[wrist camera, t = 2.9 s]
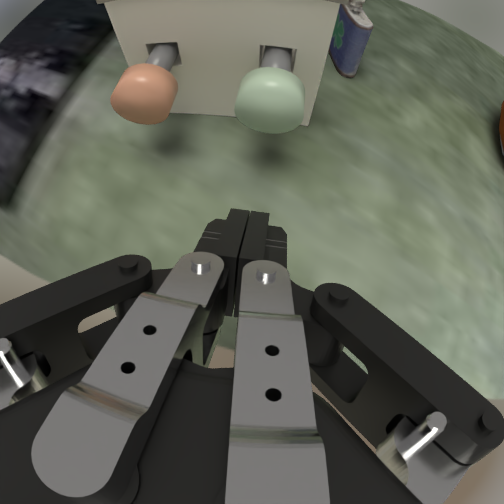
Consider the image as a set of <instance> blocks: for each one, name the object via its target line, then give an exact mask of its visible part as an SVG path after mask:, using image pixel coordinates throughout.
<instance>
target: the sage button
mask: <svg viewBox="0 0 504 504" xmlns="http://www.w3.org/2000/svg"><path fill="white" fill-rule="evenodd" d="M291 59H292V48H285V47H277V46H268V45H265V50H264V54H263V59H262V64H261V68H258V69H254V70H252V71H250V72H248V73H247V74H246V75H245V76H244V77H243V78H242V80H241V82H240V86H239V90H238V94H237V98H236V103H235V107H234V111H235V115H236V117H237V118H238V120H239V121H240V122H241V123H242V124H244V125H245V126H247V127H249V128H250V129H253V130H255V131H259V132H263V133H270V134H279V133H285V132H289V131H292V130H294V129H295V128H297V127H298V126H299V125H300V124H301V123H302V121H303V117H304V103H305V88H304V85H303V83H302V82H301V80H300V79H299V78H298V77H297V76H296V75H294V74H293V73H291V72H290V69H291Z"/></svg>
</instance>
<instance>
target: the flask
mask: <svg viewBox="0 0 504 504" xmlns="http://www.w3.org/2000/svg"><path fill="white" fill-rule="evenodd" d="M361 3H365V0H349V2H348V5H344V4H340V6H339V10H338V14H337V18H336V22H335V26H334V30H333V34H332V38H331V42H330V46H329V50H328V51H329V54H330V56H331V59H332V61H333V63H334V66H335V67H336V70H337V71H338V72H339V73H340V74H341V76H344V77H346V78H348V77H352V78H353V77H354V76H355V75H356V71H357V69H358V66H359V63H360V60H361V57H362V54H363V52H364V49H365V46H366V44H367V42H368V39H369V36H370V34H371V31H372V29H373V23H372V22H371V21H370V19H369V18H368V17H367V15H366V14H365V13H364V11H363V9H362V4H361ZM346 75H347V76H348V77H347V76H346Z"/></svg>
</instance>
